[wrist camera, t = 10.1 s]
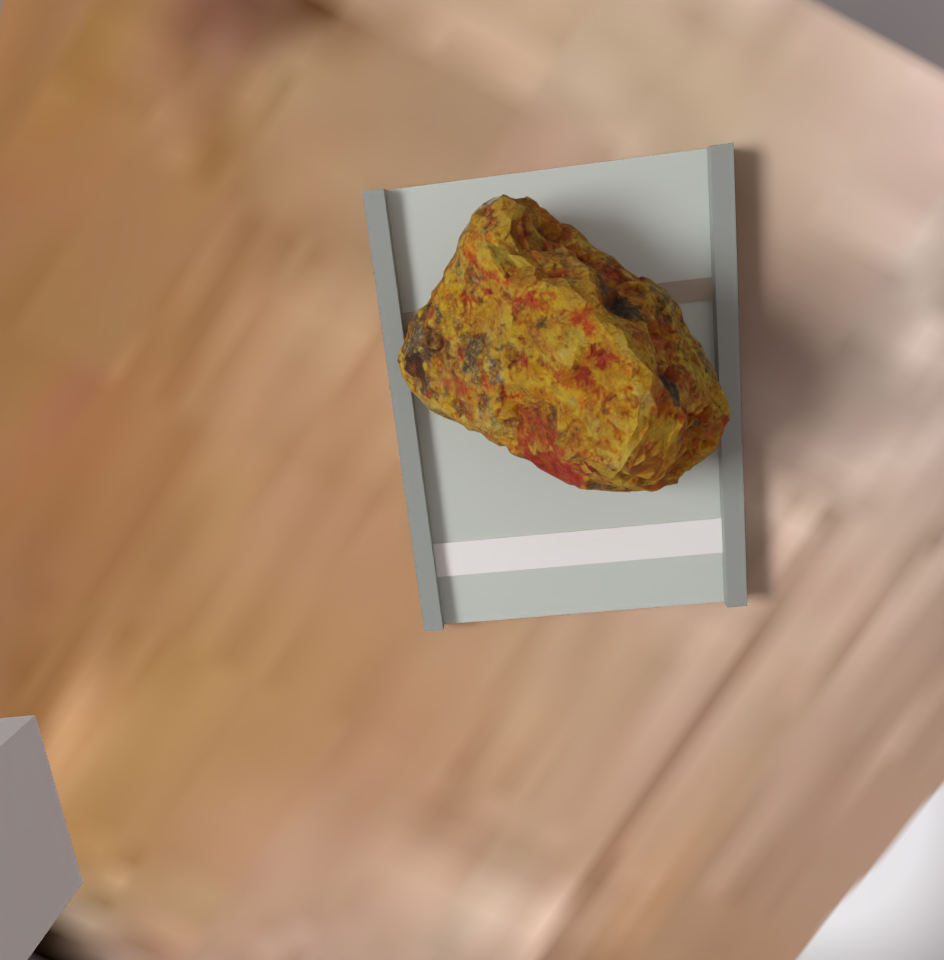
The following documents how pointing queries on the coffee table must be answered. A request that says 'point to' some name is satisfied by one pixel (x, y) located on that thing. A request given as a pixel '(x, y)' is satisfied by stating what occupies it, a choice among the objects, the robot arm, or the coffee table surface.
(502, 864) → the coffee table surface
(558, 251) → the rock
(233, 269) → the coffee table surface
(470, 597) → the mat
